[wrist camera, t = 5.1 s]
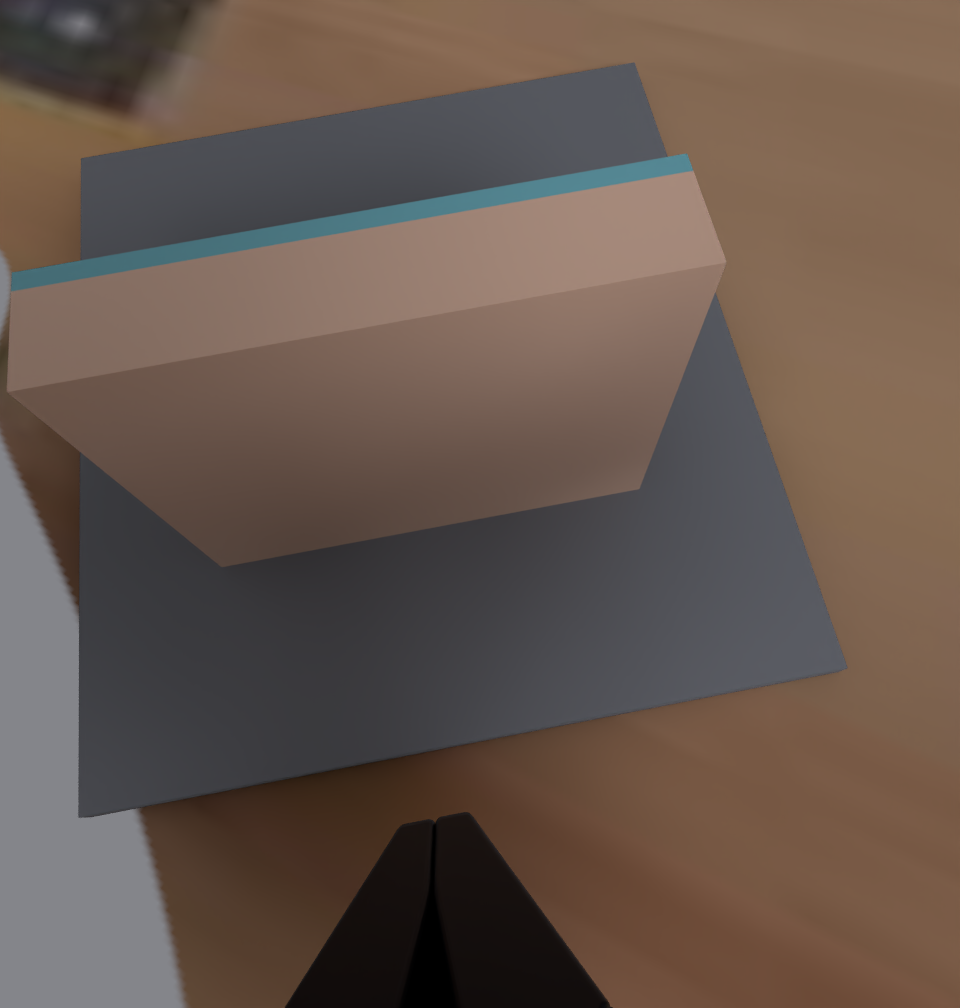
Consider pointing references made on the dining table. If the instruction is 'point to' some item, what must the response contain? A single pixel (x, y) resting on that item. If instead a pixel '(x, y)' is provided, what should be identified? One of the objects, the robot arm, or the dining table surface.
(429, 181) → the mat
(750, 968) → the dining table surface
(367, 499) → the tile
